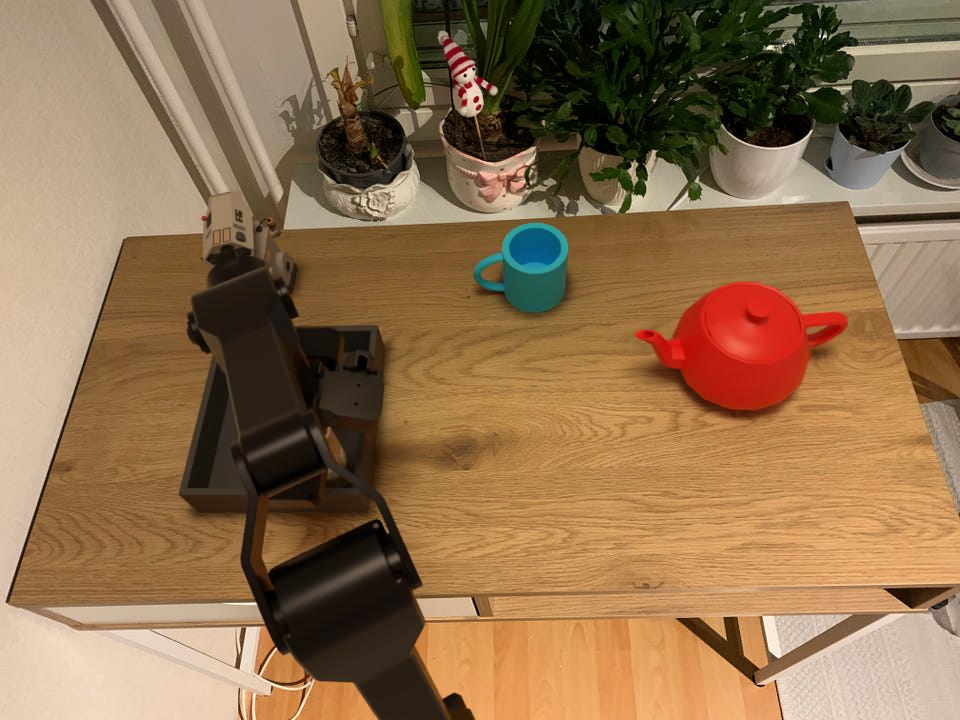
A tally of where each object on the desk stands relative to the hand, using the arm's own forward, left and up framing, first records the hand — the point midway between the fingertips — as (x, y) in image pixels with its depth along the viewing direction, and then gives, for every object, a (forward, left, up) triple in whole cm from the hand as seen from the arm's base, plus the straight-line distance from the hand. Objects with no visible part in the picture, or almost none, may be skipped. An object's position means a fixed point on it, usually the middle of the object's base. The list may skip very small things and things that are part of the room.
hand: (321, 447), depth 78 cm
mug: (+26, -21, -7) cm, 34 cm away
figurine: (+26, +14, -7) cm, 30 cm away
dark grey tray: (+6, +6, -7) cm, 11 cm away
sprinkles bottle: (0, 0, -7) cm, 7 cm away
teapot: (+14, -46, -7) cm, 49 cm away
